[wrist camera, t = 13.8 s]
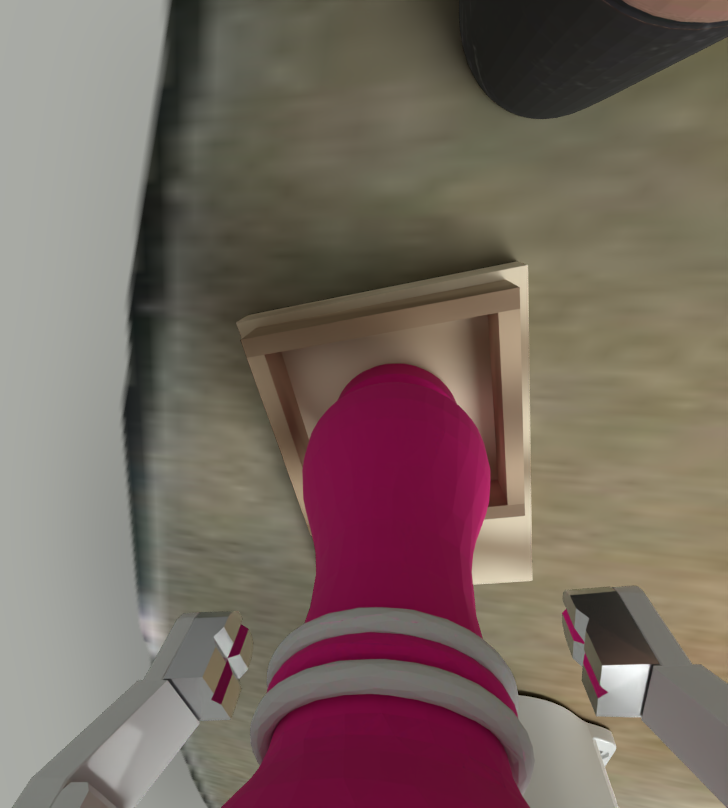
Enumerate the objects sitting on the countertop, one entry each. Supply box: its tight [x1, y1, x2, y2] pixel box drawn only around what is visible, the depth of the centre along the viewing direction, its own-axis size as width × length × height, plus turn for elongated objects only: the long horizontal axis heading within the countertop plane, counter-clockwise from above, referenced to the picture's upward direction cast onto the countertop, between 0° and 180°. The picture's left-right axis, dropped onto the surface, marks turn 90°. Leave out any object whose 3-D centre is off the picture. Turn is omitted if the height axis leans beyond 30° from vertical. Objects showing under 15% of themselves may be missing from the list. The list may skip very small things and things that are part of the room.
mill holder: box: [236, 261, 532, 585], centre depth 20 cm, size 19×13×4 cm
